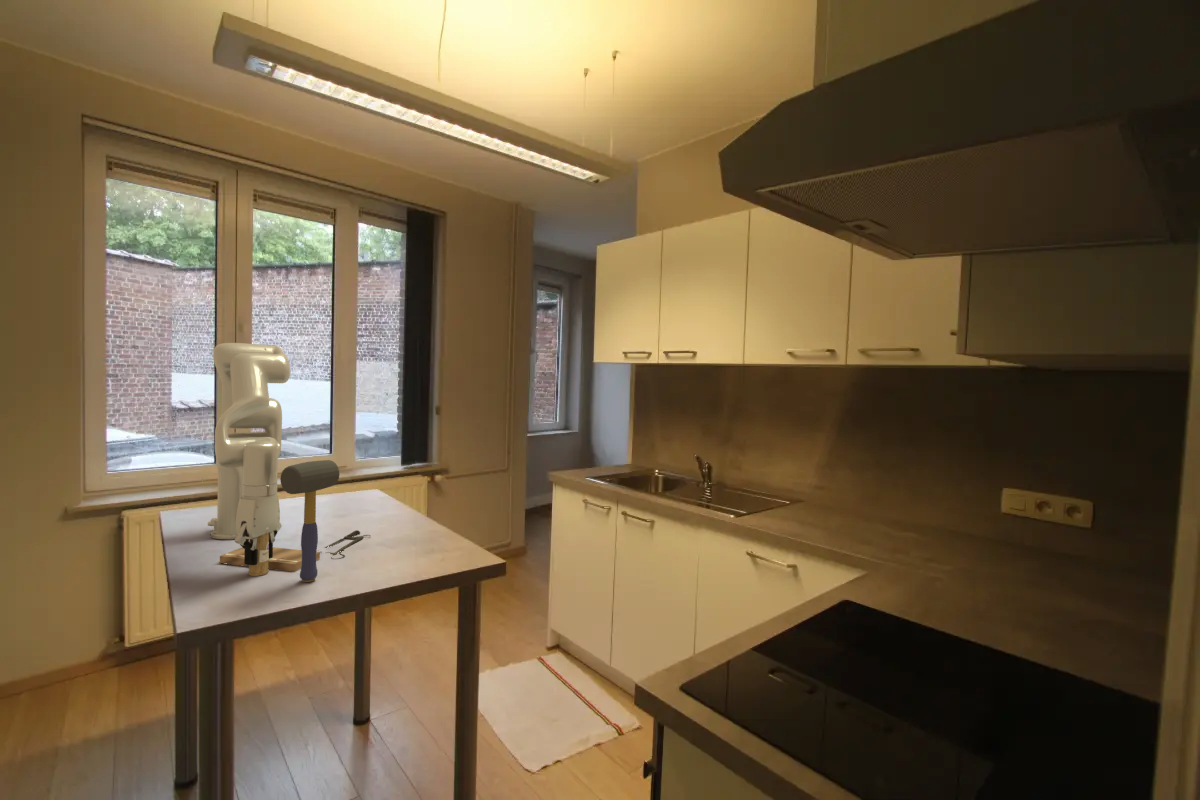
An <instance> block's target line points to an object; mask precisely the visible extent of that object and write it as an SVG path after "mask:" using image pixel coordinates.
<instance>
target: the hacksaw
mask: <svg viewBox="0 0 1200 800" xmlns="http://www.w3.org/2000/svg"><path fill="white" fill-rule="evenodd" d="M357 534H359V535H357ZM360 534H361V531H359V530H354V531H353V532H350V533H349V534H347V535H345V536H344V537H343V538H340V539H337V540H336V541H335V542H333V543H331V544H328V545H327V546H325V547H324V548H327V547H328V546H329V547H330V546H332V547H334V546H336V545H337V543H338V544H339V543H341V542H344V541H345V540H352V541H350V542H349V543H347V544H345V545H344V546H343V547H341V548H339V549H338V550H336V551H335V552H329V551H328V552H326V553H330V555H332V556H335V555H337V553H338V552H339V553H338V554H339V555H341V557H337V558H336V560H339V559H340V560H341V559H344V558H345V557H346V555H345V554H342V551H343V552H344V551H345V549H348V548H349V547H351V546H353V545H354V544H355V543H357V542H359V541H362V540H363V539H364V537H367V536H368V537H367V539H368V538H370V537H372V536H371V535H370V534H364V535H360ZM354 535H355V536H354ZM352 536H353V537H352ZM335 544H336V545H335ZM333 545H334V546H333ZM350 545H351V546H350ZM330 548H331V547H330ZM340 551H341V552H340ZM330 559H331V560H334V557H333V558H332V557H331V558H330Z"/></svg>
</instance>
